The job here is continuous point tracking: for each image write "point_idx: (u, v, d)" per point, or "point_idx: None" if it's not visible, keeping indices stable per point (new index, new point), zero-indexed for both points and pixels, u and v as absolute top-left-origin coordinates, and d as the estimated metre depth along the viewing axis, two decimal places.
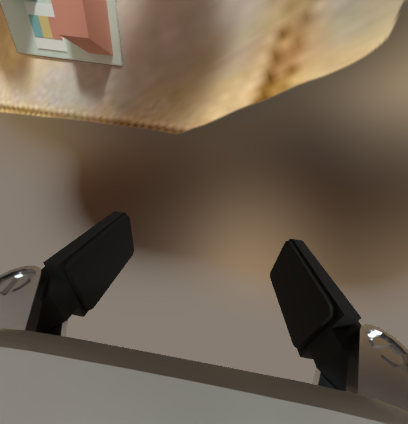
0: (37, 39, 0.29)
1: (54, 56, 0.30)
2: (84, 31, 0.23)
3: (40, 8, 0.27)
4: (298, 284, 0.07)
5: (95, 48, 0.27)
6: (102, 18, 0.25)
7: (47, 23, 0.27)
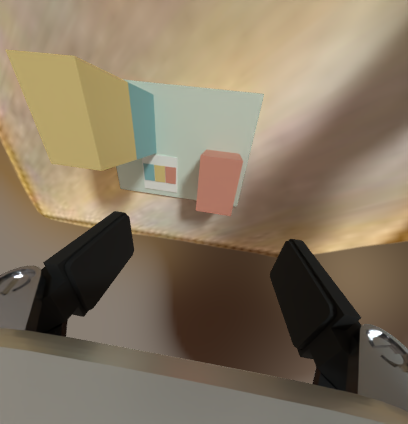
0: (146, 181, 0.26)
1: (161, 194, 0.27)
2: (227, 210, 0.20)
3: (158, 159, 0.24)
4: (298, 284, 0.07)
5: None
6: None
7: (163, 170, 0.25)
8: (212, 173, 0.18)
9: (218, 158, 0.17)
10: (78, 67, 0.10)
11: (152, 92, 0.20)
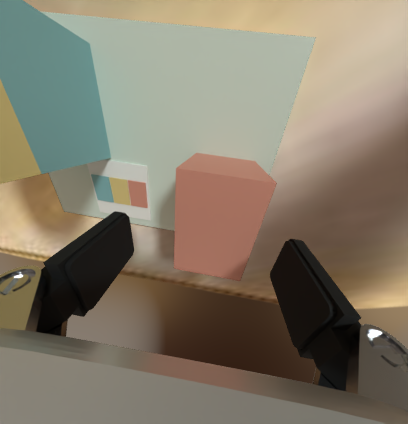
0: (101, 202, 0.16)
1: None
2: (233, 272, 0.10)
3: (114, 169, 0.14)
4: (298, 284, 0.07)
5: None
6: None
7: (125, 187, 0.15)
8: (205, 207, 0.08)
9: (217, 176, 0.07)
10: None
11: (87, 38, 0.10)
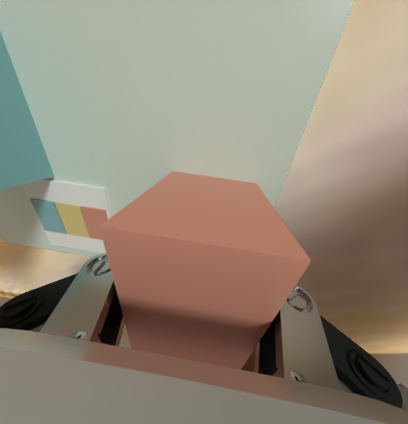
0: (51, 232, 0.12)
1: (88, 255, 0.13)
2: (227, 366, 0.07)
3: (61, 192, 0.10)
4: None
5: None
6: None
7: (78, 215, 0.11)
8: (169, 289, 0.04)
9: (186, 243, 0.03)
10: None
11: None
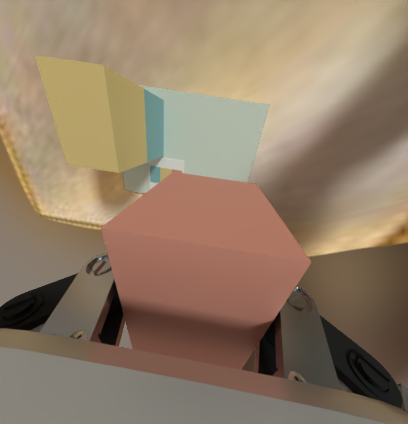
0: (151, 183, 0.27)
1: None
2: (227, 366, 0.07)
3: (164, 162, 0.25)
4: None
5: None
6: None
7: (169, 173, 0.25)
8: (170, 290, 0.04)
9: (187, 244, 0.04)
10: (105, 75, 0.11)
11: (162, 98, 0.21)
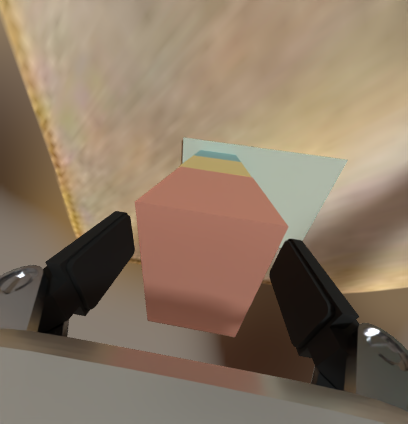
0: None
1: None
2: (226, 328, 0.08)
3: None
4: (297, 283, 0.07)
5: None
6: None
7: None
8: (183, 254, 0.06)
9: (199, 214, 0.05)
10: None
11: (235, 153, 0.20)
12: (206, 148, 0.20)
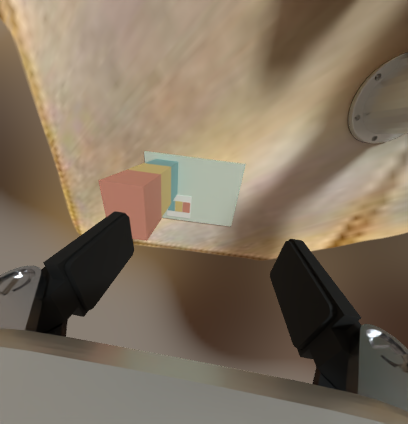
0: (168, 211, 0.38)
1: (178, 219, 0.39)
2: (142, 235, 0.19)
3: (178, 198, 0.36)
4: (298, 284, 0.07)
5: None
6: (157, 200, 0.21)
7: (181, 204, 0.37)
8: (116, 198, 0.17)
9: (117, 183, 0.16)
10: None
11: (177, 160, 0.32)
12: (159, 157, 0.32)
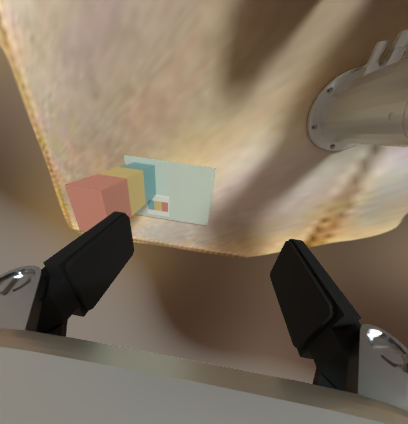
0: (149, 209, 0.41)
1: (158, 217, 0.42)
2: None
3: (157, 198, 0.39)
4: (298, 284, 0.07)
5: None
6: (123, 201, 0.25)
7: (160, 204, 0.40)
8: (81, 200, 0.20)
9: (80, 188, 0.19)
10: (127, 180, 0.25)
11: (154, 164, 0.35)
12: (137, 161, 0.35)
